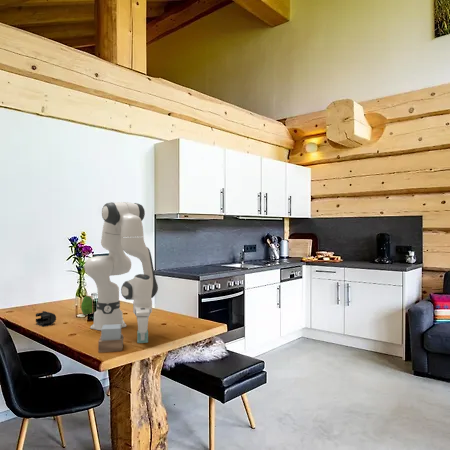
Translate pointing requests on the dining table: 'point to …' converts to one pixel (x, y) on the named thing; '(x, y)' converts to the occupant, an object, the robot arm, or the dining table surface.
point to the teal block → (140, 337)
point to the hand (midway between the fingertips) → (142, 337)
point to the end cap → (45, 319)
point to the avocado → (86, 305)
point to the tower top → (111, 332)
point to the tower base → (110, 345)
